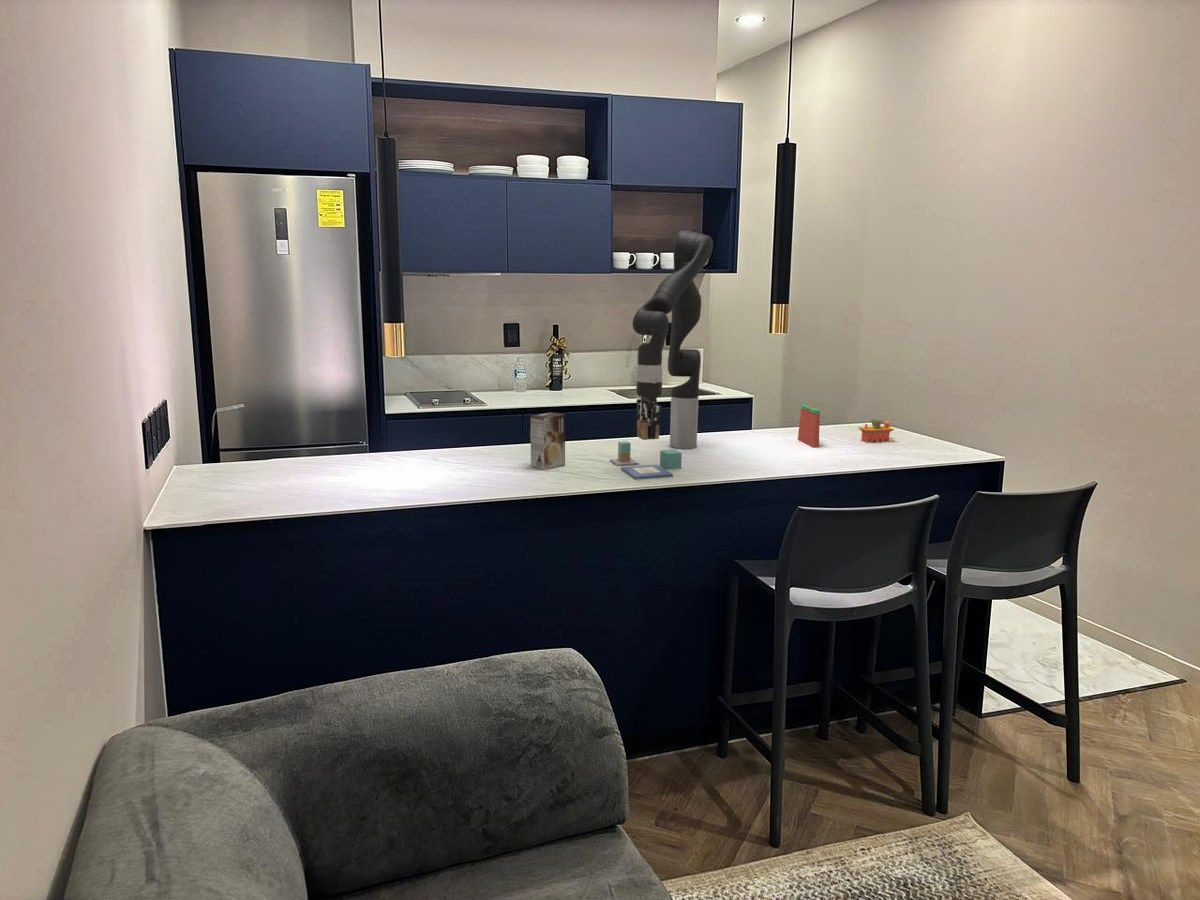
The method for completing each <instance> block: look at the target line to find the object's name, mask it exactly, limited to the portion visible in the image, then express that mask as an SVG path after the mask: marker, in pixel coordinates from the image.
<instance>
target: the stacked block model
mask: <svg viewBox="0 0 1200 900" xmlns="http://www.w3.org/2000/svg"><path fill="white" fill-rule="evenodd" d="M631 446H632V445H631V442H629V441H627V440H624V441H618V442H617V452H618V453H617V458H610V459H609V462H610V463H612V464H613V465H615V466H616V467H628V466H639V462H638V461H637V460H635V459H633V458H632V457H631V449H632V447H631Z"/></svg>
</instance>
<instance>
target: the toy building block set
mask: <svg viewBox="0 0 1200 900" xmlns="http://www.w3.org/2000/svg"><path fill="white" fill-rule="evenodd" d="M799 415H800V416H799V425H798V433H797V441H798V440H799V441H798V442H800V441H801V442H800V443H802V442H803V443H802V444H804V443H805V444H804V445H806V444H807V445H806V446H809V447H811V448H812V449H817V448H818V449H819V448H820V447H821V446H820V420H821V419H820V417H821V410H819V409H816V408H815V407H813V405H812V404H809V405H806V404H800V414H799ZM869 422H870V423H871V425H872V426H868V424H867V423H866V424H864V426H857V428H858V429H859V431H861V437H860V438H861V440H860V441H861V442H864V443H865V444H868V442H870V444H871V443H874V442H875V443H879V442H880V443H884V442H887V443H889V442H890V433H891V432H893V431H894V430H895V428H892V427H891V424H890V421H889V420H886V421H884V420H881V419H869ZM883 423H884V425H883V426H882V425H881V424H883Z"/></svg>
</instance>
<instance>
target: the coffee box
mask: <svg viewBox="0 0 1200 900" xmlns="http://www.w3.org/2000/svg"><path fill="white" fill-rule="evenodd" d="M565 415H566V414H565V413H558V412H554V411H552V412H551V411H549V412H543V413H539V414H533V415H530V416H529V418H530V420H529V421H530V422H529V424H530V429H529V431H530V434H529V435H530V467H532V466H534V467H533V468H535V467H538V468H537V469H540V468H542V469H541V470H544V469H545V470H548V469H547V468H549V469H553V468H557V467H561V466H565V465H566V428H565V427H566V417H565ZM552 467H553V468H552Z"/></svg>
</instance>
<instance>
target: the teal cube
mask: <svg viewBox="0 0 1200 900" xmlns="http://www.w3.org/2000/svg"><path fill="white" fill-rule="evenodd" d="M659 451H660V453H659V455H660V456H659V466H661V467H662V468H664V469H666V470H667V471H668V470H678V469H680V470H681V469H682V455H683V453H682V452H681V451H679V450H677V449H676V448H675V449H662V450H659Z"/></svg>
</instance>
